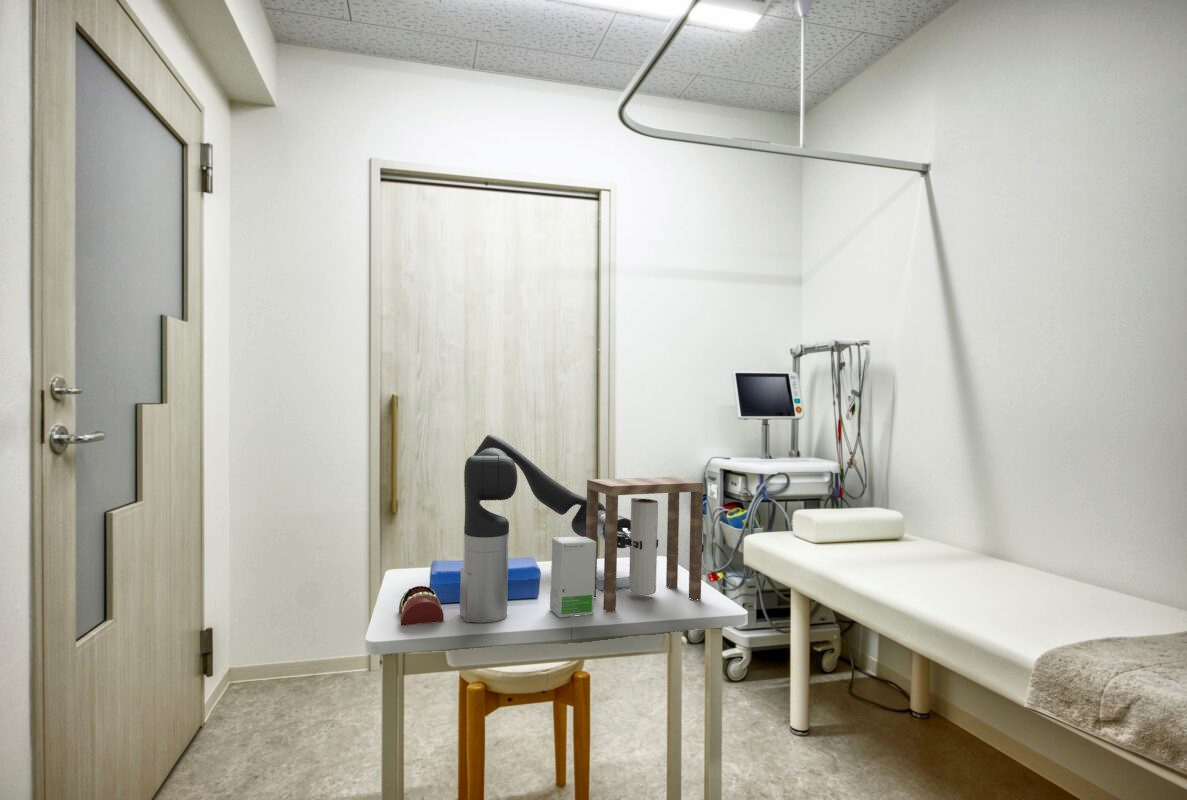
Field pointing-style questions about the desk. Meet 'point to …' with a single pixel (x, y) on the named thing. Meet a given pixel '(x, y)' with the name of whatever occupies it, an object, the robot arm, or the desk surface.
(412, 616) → the teeth
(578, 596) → the skincare box
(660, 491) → the walnut shelf
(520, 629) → the desk surface
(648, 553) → the paper towel roll
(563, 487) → the robot arm
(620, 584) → the slate mat
